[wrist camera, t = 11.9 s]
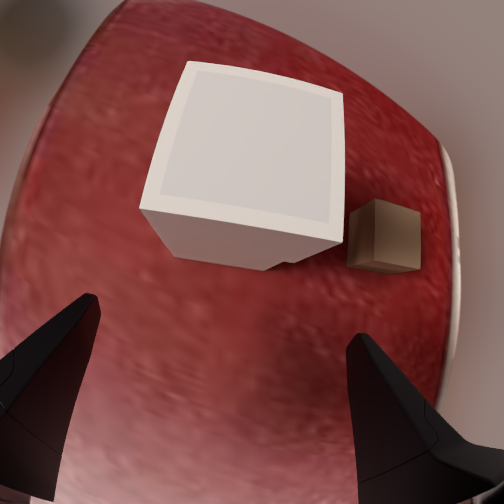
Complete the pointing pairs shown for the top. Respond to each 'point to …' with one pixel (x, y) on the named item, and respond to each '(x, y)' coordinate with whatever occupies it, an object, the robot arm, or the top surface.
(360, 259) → the walnut block
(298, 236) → the white notched block
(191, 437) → the top surface
